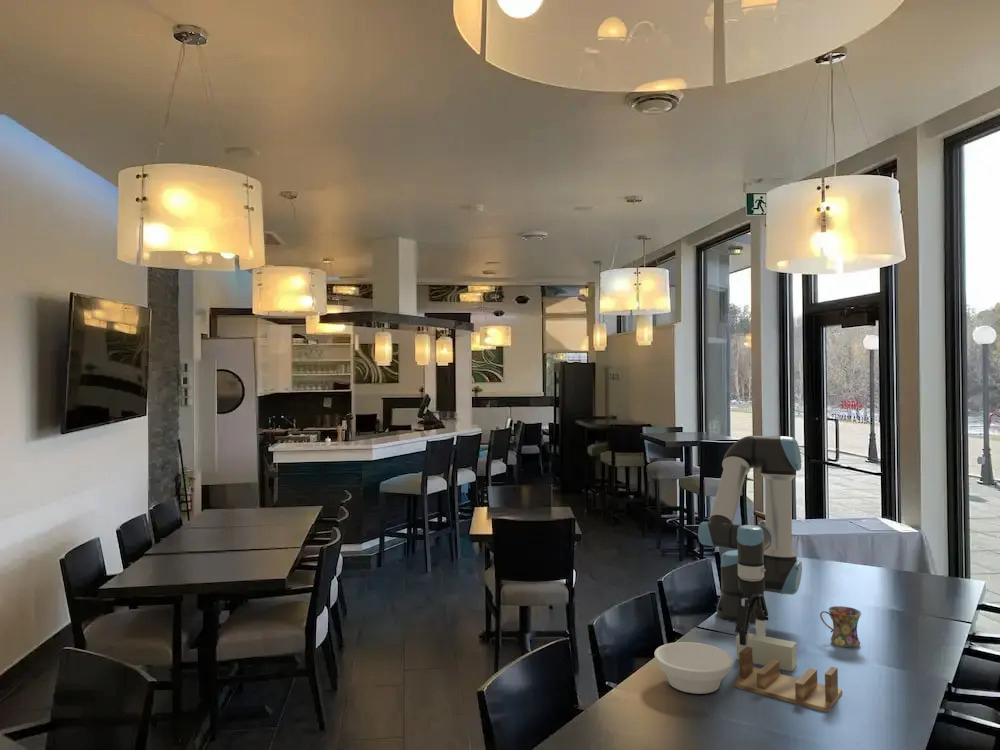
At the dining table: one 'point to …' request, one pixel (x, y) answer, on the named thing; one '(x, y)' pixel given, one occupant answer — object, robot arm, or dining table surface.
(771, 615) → the dining table surface
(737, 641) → the block
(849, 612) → the mug
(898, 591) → the dining table surface
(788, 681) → the rack
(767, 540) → the robot arm
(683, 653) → the bowl
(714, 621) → the dining table surface
